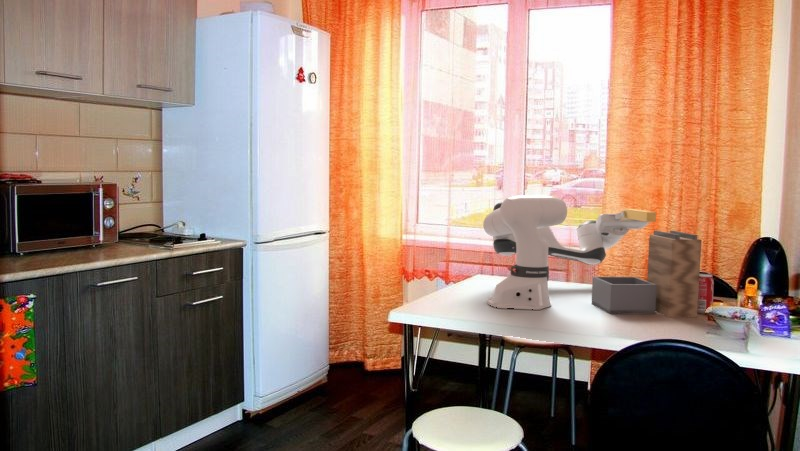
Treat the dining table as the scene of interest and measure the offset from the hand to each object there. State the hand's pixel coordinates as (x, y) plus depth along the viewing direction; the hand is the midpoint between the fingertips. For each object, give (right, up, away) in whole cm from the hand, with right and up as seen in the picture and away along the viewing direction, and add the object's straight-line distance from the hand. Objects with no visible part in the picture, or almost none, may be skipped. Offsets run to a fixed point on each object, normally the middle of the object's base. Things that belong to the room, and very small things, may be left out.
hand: (630, 212), depth 251 cm
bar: (+1, -3, -7) cm, 8 cm away
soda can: (+14, -35, -29) cm, 48 cm away
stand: (+3, -35, -30) cm, 46 cm away
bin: (-12, -34, -26) cm, 45 cm away
